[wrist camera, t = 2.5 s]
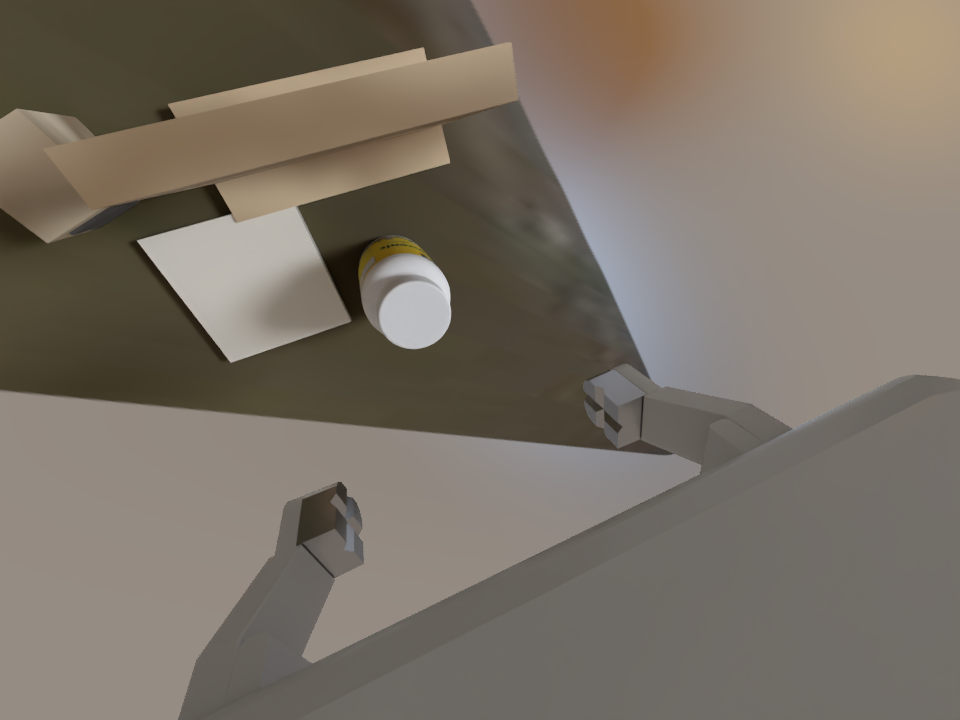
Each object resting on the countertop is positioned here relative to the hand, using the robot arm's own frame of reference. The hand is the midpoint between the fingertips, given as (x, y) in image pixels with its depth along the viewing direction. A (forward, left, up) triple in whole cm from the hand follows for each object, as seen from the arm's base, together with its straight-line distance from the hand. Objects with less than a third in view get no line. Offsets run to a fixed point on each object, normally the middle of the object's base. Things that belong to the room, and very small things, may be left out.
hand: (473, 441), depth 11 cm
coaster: (-2, -9, -20) cm, 22 cm away
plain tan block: (-10, -14, -20) cm, 26 cm away
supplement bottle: (0, 0, -20) cm, 20 cm away
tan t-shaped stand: (-9, -1, -20) cm, 22 cm away
